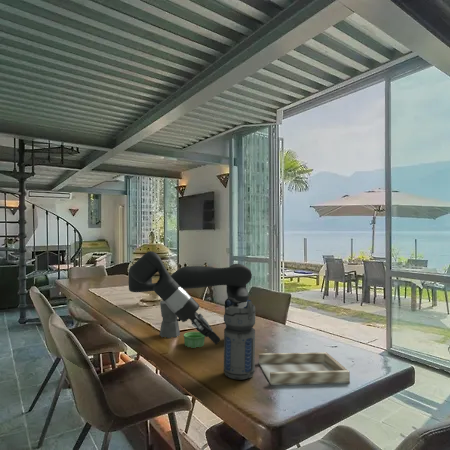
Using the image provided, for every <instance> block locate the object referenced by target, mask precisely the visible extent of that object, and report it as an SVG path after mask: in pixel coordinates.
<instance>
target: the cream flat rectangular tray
mask: <svg viewBox="0 0 450 450" xmlns="http://www.w3.org/2000/svg"><path fill="white" fill-rule="evenodd" d="M258 365H259V366H260V369H261V370H262V372H263V373H264V375H265V378H266V380H267V381H268V382H269V384H270V386H289V385H291V386H294V385H295V386H296V385H298V386H299V385H326V384H329V385H330V384H351V375H350V373H351V372H350V371H349V370H348V369H347V367H345V366H344V365H342V364H341V363H340V362H339V361H337V359H336V358H334V357H333V356H332V355H330V354H329V353H328V352H324V351H323V352H317V351H316V352H275V353H274V352H268V353H266V352H265V353H258Z"/></svg>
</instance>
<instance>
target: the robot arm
mask: <svg viewBox="0 0 450 450" xmlns="http://www.w3.org/2000/svg"><path fill="white" fill-rule="evenodd" d="M157 273H158V275H159V277H158V279H157V281H156V282H153V277H154V276H155V275H156V274H157ZM252 275H253V273H252V271H251V269H250V268H249V266H247V265H245V264H241V263H234V264H233V263H232V264H231V265H229V266H226V267H213V266H203V265H201V266H200V265H195V266H194V265H193V266H190V265H189V266H182V267H180V268H178V269H177V270H176V271H174V272H173V273H171V274H170V273H169V271H168V269H167V268H166V267H165V264H164V262H163V260H162V259H161V257H160V255H159V254H158V253H156V252H154V251H146V252H145V253H144V254H143V255H142V256H141V257H140V258H138V260H136V262H135V263H133V264H132V265H131V266H130V267H129V269H128V291H129V292H131V293H147V292H154V293H155V294H156V295H157V296H158V297H159V298H160V299H161V301H164V302H165V303H166V305H167V306H168V307H169V308H170V309H171V311H172V312H173V313H174V314H175V315H176V316H177V319H180V320H181V321H180V322H182V323H185V322H187V321H188V320H189V321H191V325H192V326H193V328H194V329H196V332H200V333H202V334H203V335H204V336H205V338H208V339H210V341H212V343H213V344H214V345H218V344H219V342H221V338H220V337H219V336H218V335H217V334H216V332H215V331H214V330H213V328H212V327H211V325H210V323H209V322H208V321H207V319H205V318H204V316H203V315H202V314H201V313H198V310H199V309H200V303H198V302H197V301H196V300H195V299H194V298H193V297H192V296H191V295H190V294H189V293H188V291H186V289H187V290H188V289H201V288H202V289H203V288H209V287H216V286H226V295H227V299H228V298H230V297H231V298H234V299H236V301H240V302H242V303H238V305H247V300H250V299H249V293H248V290H247V285H248V284H249V283H250V281H251V280H252V277H253V276H252Z"/></svg>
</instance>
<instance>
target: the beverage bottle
mask: <svg viewBox="0 0 450 450" xmlns="http://www.w3.org/2000/svg"><path fill="white" fill-rule="evenodd" d="M238 303H242V302H240V301H236V299H234V298H231V297H230V298H228V297H227V298H226V299H225V301H224V314H223V322H224V325H225V328H224V330H223V374H224V375H225V376H226V378H227V377H228V378H229V379H232V380H237V381H239V380H240V381H241V380H243V381H244V380H246V379H247V380H248V379H251V378H252V377H253V376H254V374H255V371H256V370H255V366H256V363H255V362H256V359H255V358H256V356H255V355H256V329H255V328H253V327H254V326H255V324H256V306H255V305H254V304H253V302H252V300H251V299H249V300H247V305H238Z"/></svg>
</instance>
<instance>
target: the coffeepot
mask: <svg viewBox="0 0 450 450" xmlns="http://www.w3.org/2000/svg"><path fill="white" fill-rule="evenodd" d="M159 307H160V313H161V318H162V321H161V325H160V329H159V336H161V337H160V338H163V337H167V338H166V339H172V338H171V337H175V338H178V337H179V336H180V335H181V334H180V333H181V331H180V326H179V322H182V321H181V320H180V319H179V318H178V317H177V316H176V315H175V314H174V313H173V312H172V311H171V309H170V308H169V307H168V306H167V305H166V303H165V302H164V301H163V300H160V302H159ZM177 336H178V337H177Z"/></svg>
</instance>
